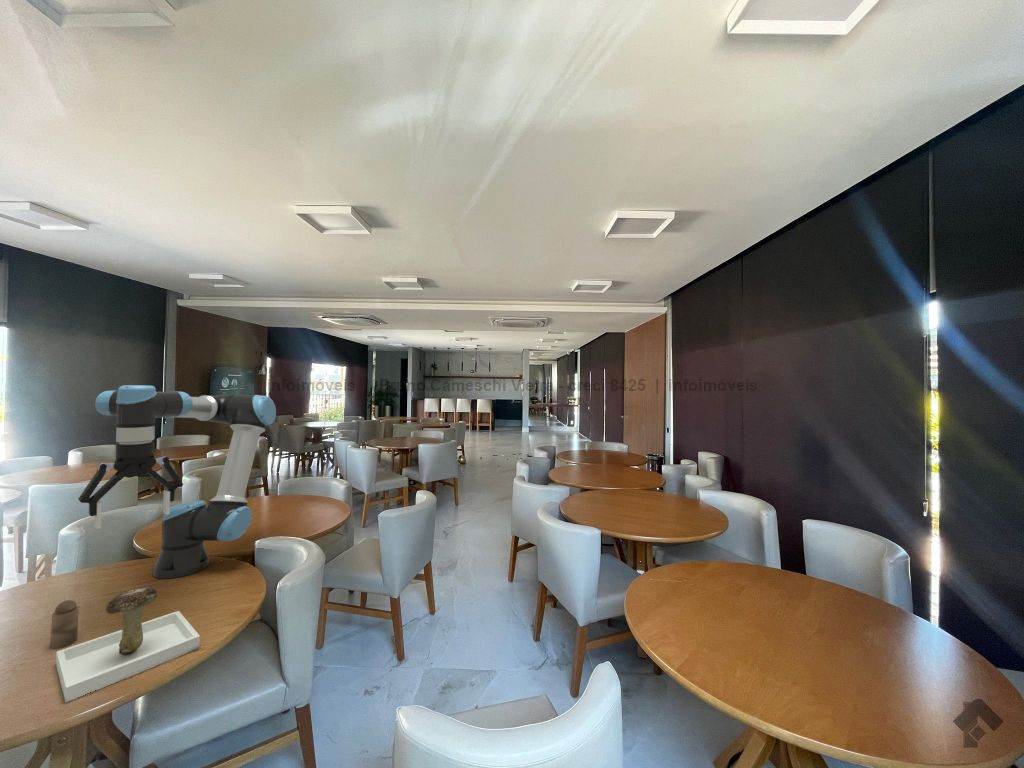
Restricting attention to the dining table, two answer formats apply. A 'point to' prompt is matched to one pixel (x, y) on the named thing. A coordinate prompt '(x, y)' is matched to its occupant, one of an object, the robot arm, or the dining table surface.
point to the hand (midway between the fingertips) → (133, 520)
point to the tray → (105, 665)
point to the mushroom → (131, 616)
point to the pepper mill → (64, 625)
